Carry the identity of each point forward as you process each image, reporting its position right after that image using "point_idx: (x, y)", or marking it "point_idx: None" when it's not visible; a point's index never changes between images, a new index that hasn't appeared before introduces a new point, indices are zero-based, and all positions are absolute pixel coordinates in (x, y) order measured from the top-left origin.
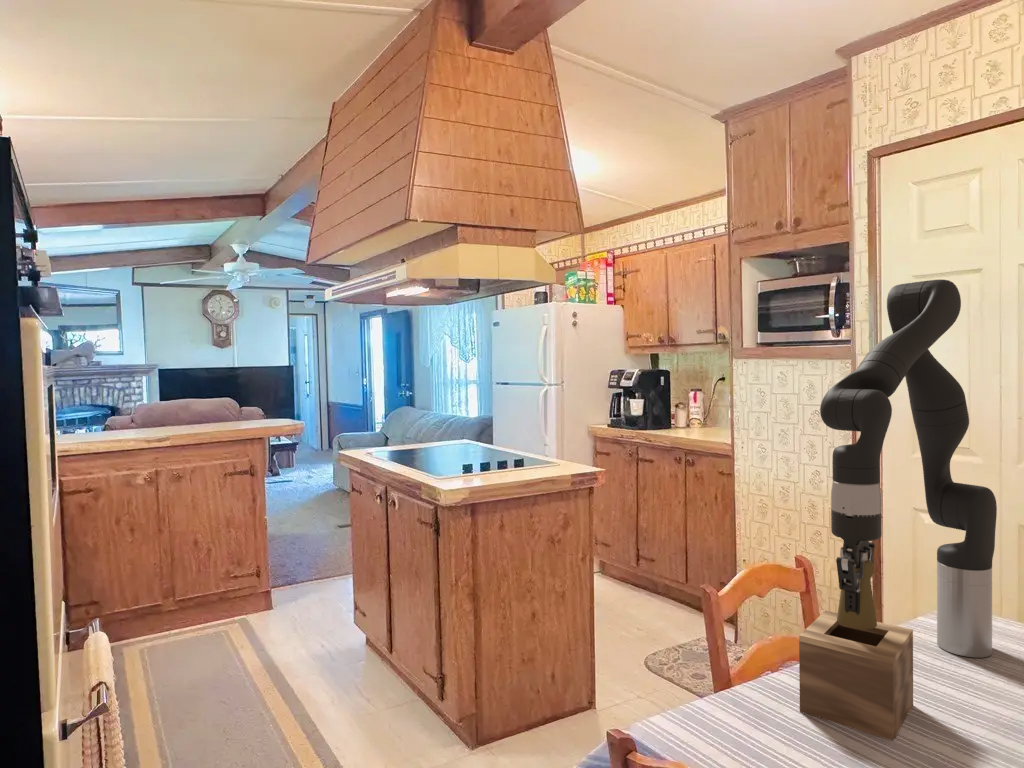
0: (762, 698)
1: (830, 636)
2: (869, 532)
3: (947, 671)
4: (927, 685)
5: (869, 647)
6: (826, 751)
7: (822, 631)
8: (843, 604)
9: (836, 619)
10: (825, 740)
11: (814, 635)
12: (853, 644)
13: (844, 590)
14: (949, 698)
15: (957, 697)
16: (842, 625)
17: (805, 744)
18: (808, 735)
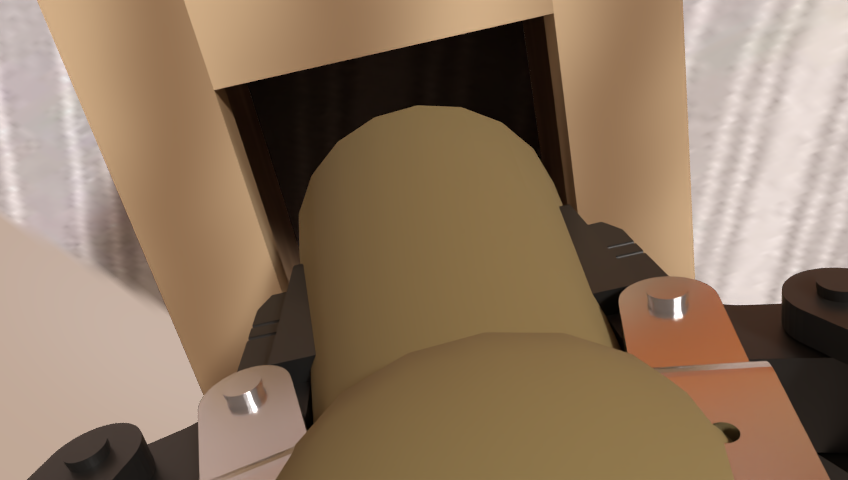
0: None
1: (216, 141)
2: None
3: None
4: (758, 186)
5: None
6: (41, 190)
7: (249, 58)
8: (314, 256)
9: (544, 5)
10: (97, 154)
11: (130, 62)
12: (225, 290)
13: (318, 328)
14: (702, 268)
15: (726, 280)
16: (548, 40)
17: (8, 124)
18: (68, 99)
